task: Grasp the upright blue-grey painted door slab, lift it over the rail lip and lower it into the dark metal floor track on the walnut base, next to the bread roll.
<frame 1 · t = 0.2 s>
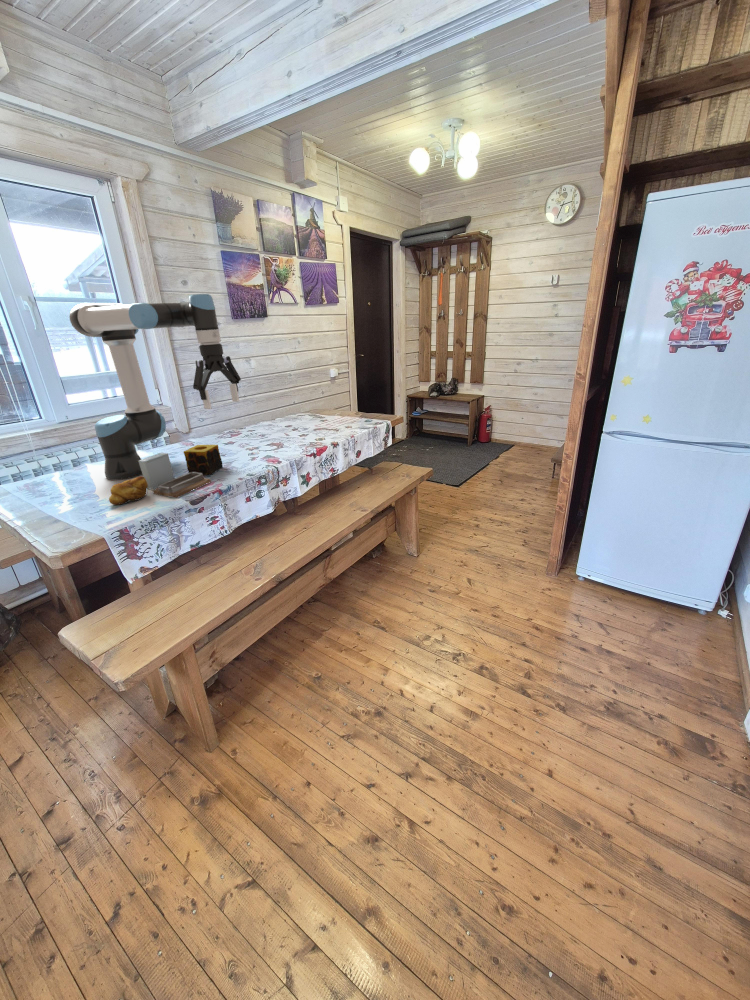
hand: (222, 405, 153), 28 cm above the table, fingers open, 13 cm apart
track: (183, 487, 155), on the table
door slab: (161, 484, 160), on the table
bread roll: (129, 500, 148), on the table
candle: (206, 471, 172), on the table
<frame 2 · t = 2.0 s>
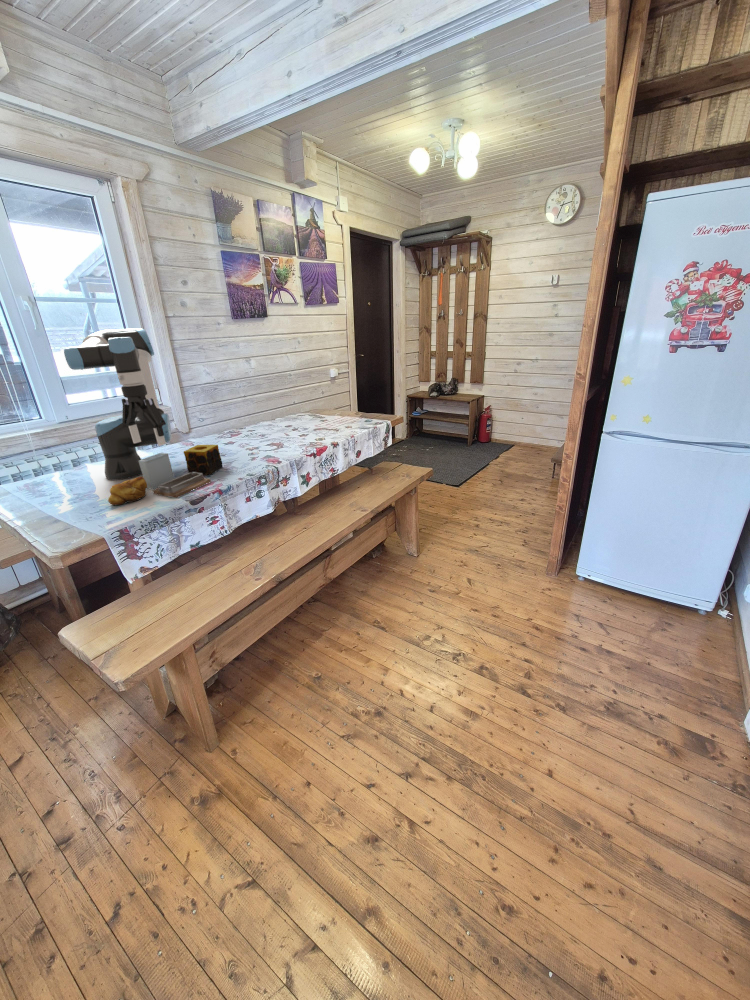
hand: (149, 443, 154), 16 cm above the table, fingers open, 13 cm apart
nothing on the table moved.
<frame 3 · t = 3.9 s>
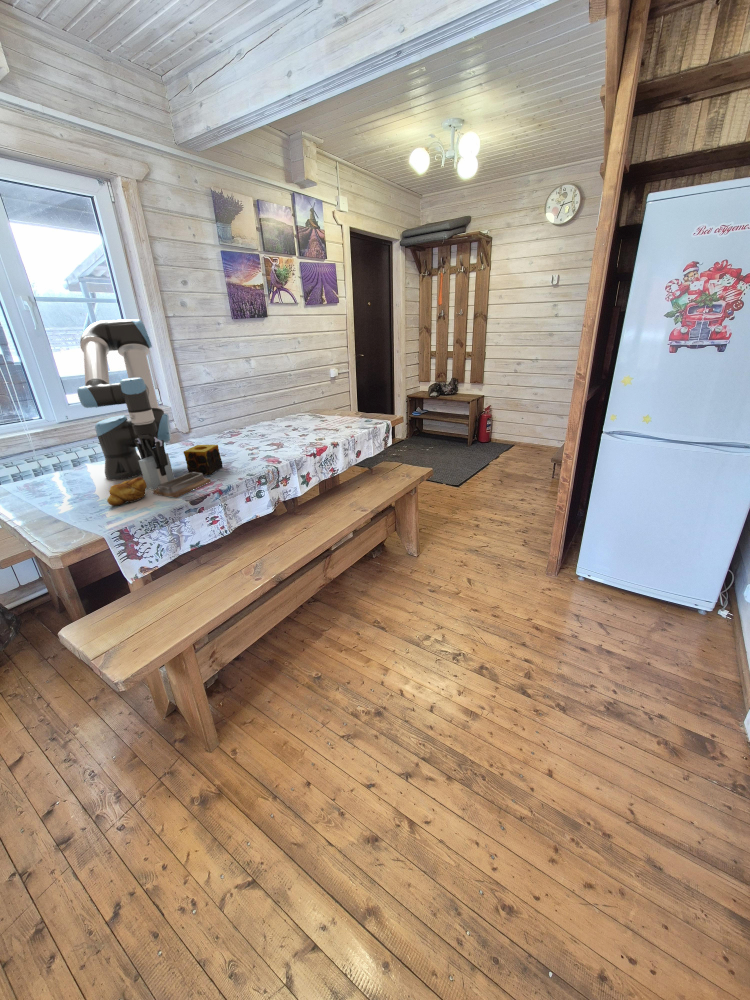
hand: (160, 482, 160), 1 cm above the table, fingers closed on door slab, 3 cm apart
door slab: (161, 484, 160), on the table, touching gripper
everything else where it was.
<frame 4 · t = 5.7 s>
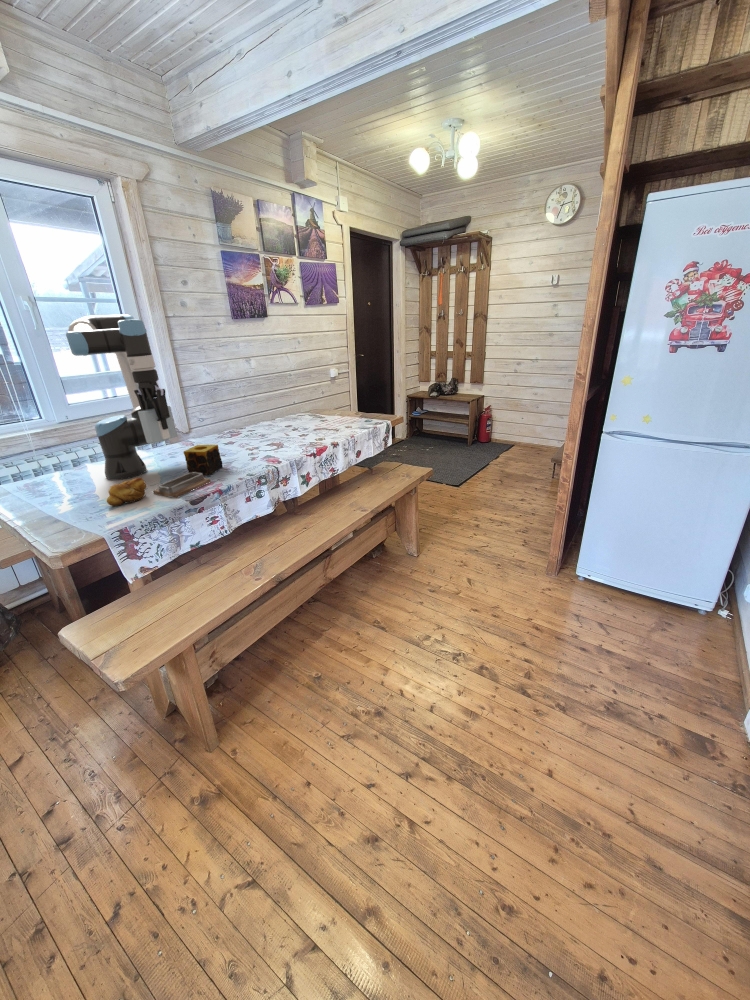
hand: (162, 438, 148), 19 cm above the table, fingers closed on door slab, 3 cm apart
door slab: (162, 439, 149), point 18 cm above the table, touching gripper
everything else where it was.
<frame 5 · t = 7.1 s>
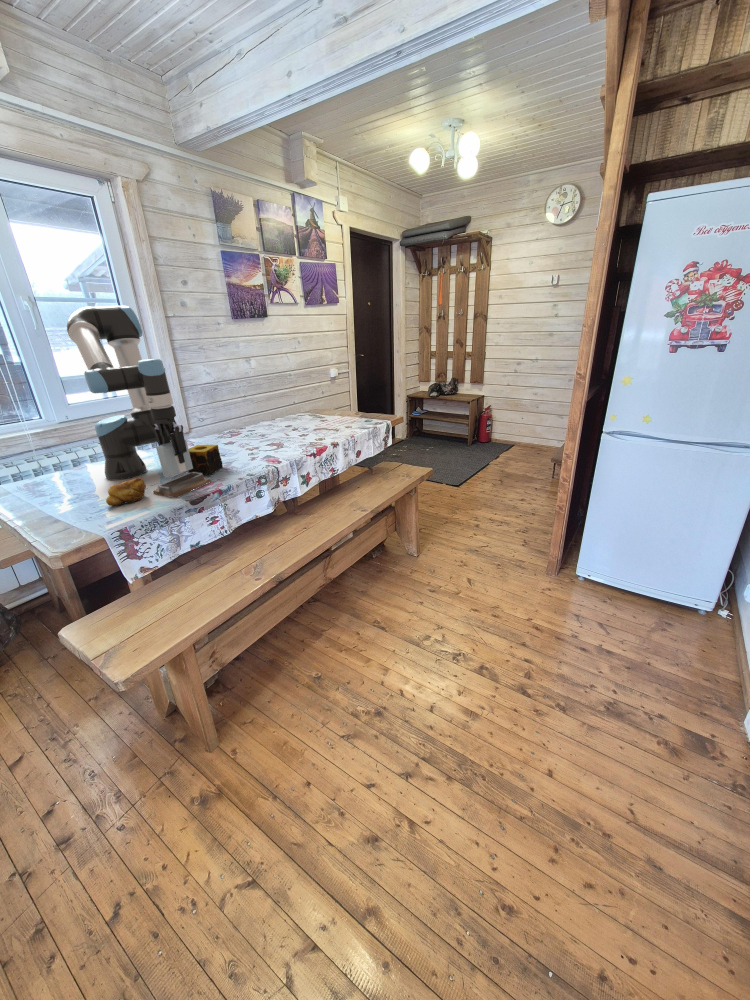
hand: (178, 470, 153), 7 cm above the table, fingers closed on door slab, 3 cm apart
door slab: (179, 472, 153), point 6 cm above the table, touching gripper
when the fingers open (4 cm above the table, at t = 7.8 s): door slab drops 2 cm, resting on track.
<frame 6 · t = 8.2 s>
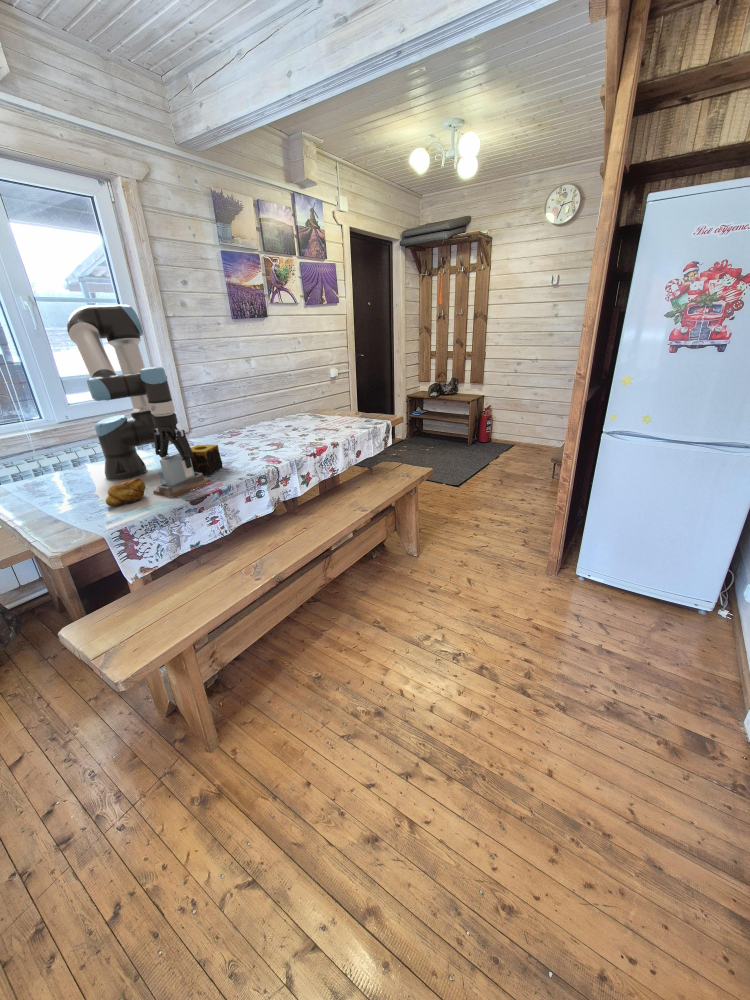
hand: (179, 474, 153), 5 cm above the table, fingers open, 9 cm apart
door slab: (182, 484, 155), point 1 cm above the table, touching track
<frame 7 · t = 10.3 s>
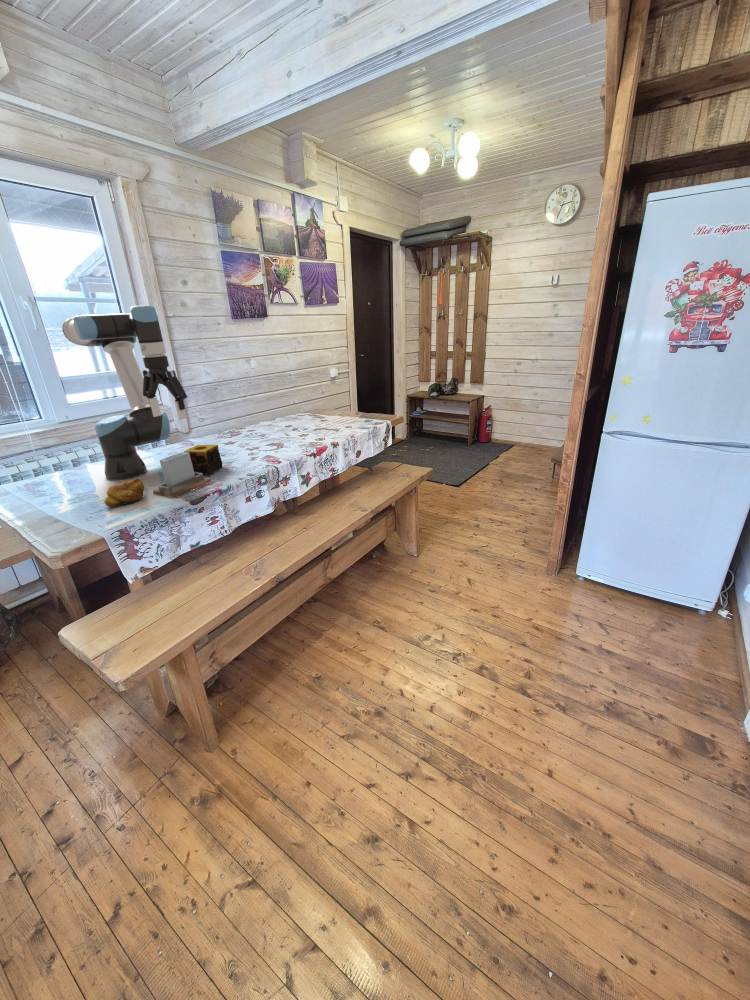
hand: (170, 417, 151), 25 cm above the table, fingers open, 13 cm apart
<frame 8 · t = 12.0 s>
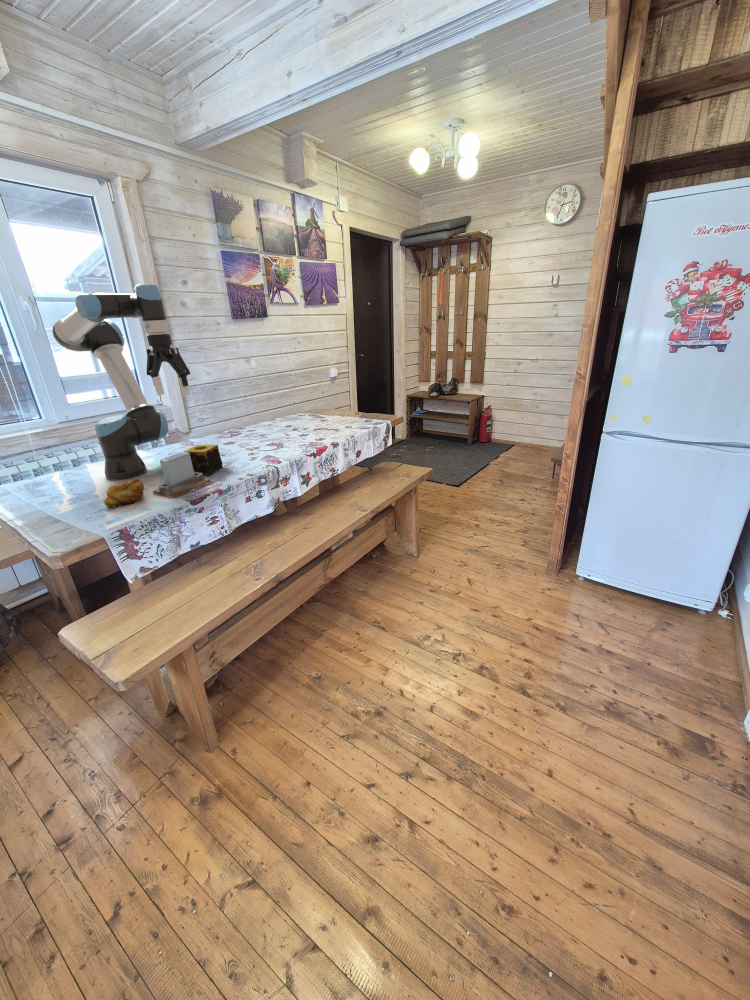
hand: (173, 395, 156), 32 cm above the table, fingers open, 13 cm apart
at the end: door slab 0.1 cm off-centre on the track, point 1.2 cm above the track's base; door slab tilted 0°; the gripper is holding nothing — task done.
